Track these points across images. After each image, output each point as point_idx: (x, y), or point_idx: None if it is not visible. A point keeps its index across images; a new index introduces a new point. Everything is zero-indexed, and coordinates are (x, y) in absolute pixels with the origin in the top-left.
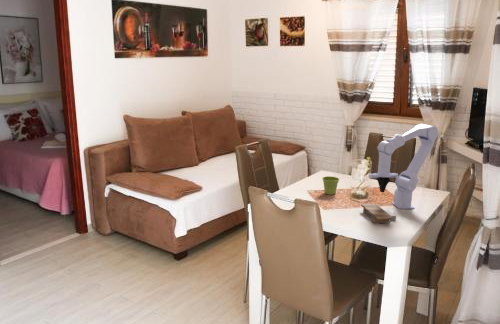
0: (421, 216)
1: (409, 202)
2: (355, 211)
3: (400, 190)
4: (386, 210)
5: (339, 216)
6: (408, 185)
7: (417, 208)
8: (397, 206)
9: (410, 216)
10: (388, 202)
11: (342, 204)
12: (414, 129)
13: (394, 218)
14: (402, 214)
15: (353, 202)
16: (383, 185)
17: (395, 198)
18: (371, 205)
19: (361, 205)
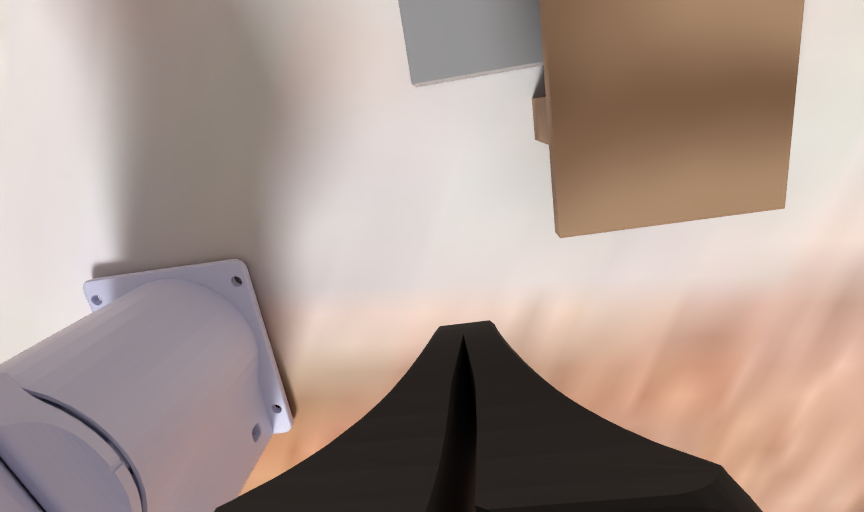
0: (32, 15)
1: (93, 312)
2: (797, 166)
3: (101, 446)
4: (446, 67)
5: None
6: None
7: (58, 288)
8: (257, 315)
9: (163, 7)
10: (320, 447)
11: (835, 390)
12: None
13: None
14: (247, 80)
15: (681, 446)
16: (487, 393)
17: (239, 440)
18: (652, 145)
19: (775, 186)
